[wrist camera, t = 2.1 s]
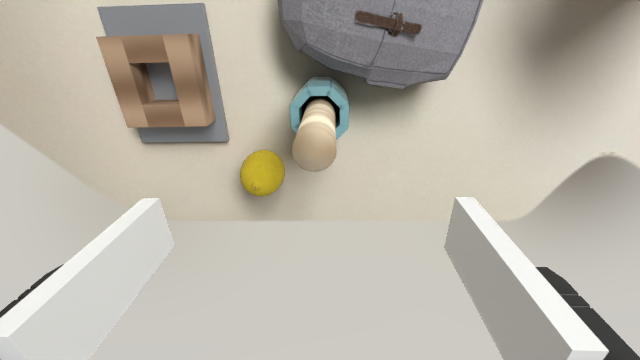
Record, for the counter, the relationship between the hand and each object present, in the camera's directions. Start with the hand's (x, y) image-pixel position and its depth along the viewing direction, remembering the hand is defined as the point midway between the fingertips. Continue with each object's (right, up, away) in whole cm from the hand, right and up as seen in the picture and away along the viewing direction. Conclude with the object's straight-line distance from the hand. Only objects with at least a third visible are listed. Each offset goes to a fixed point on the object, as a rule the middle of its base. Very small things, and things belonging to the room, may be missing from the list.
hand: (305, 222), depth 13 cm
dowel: (+1, +12, +23) cm, 26 cm away
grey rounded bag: (+6, +21, +19) cm, 29 cm away
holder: (-18, +14, +22) cm, 32 cm away
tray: (-18, +15, +23) cm, 33 cm away
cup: (+1, +12, +23) cm, 26 cm away
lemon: (-7, +5, +28) cm, 29 cm away
